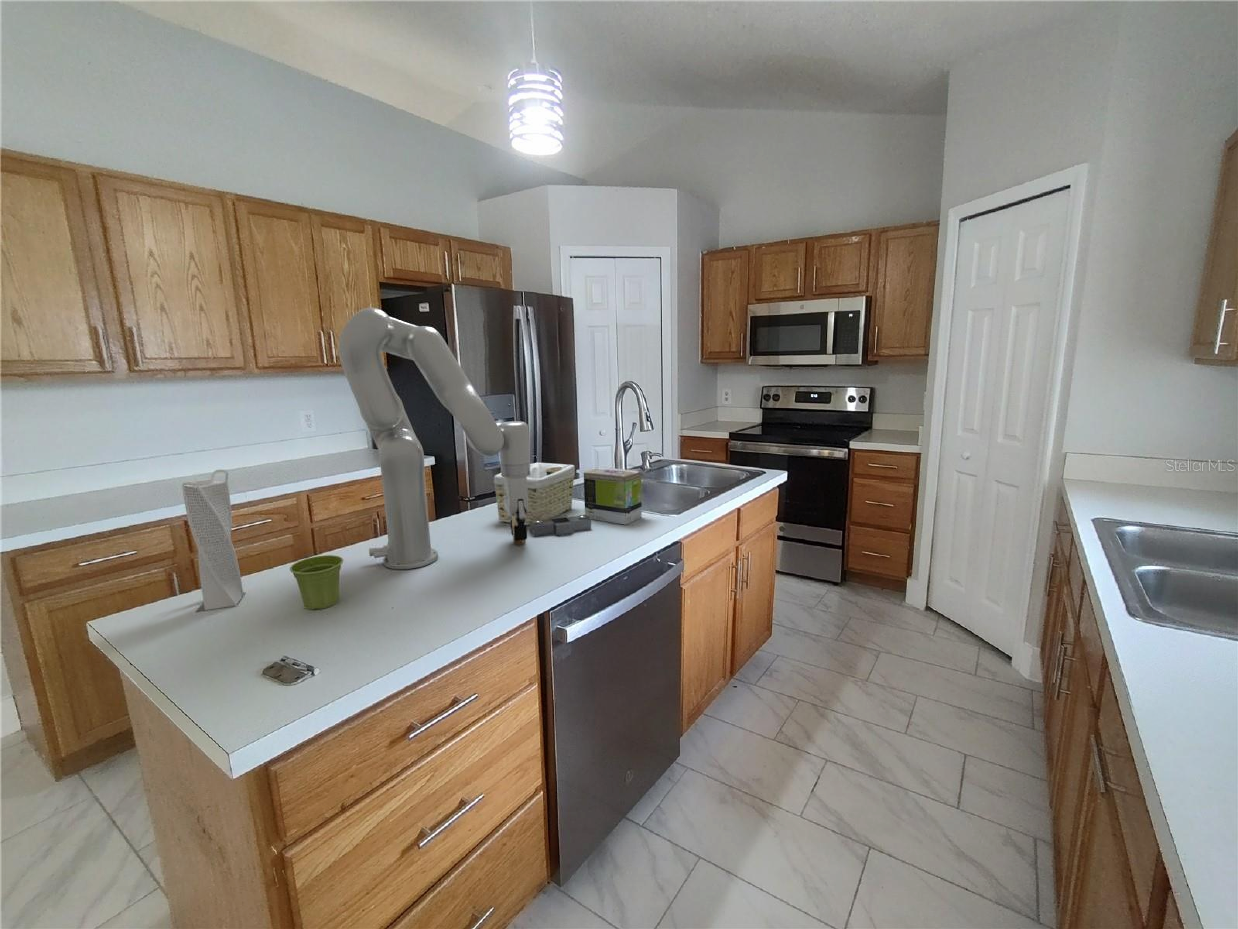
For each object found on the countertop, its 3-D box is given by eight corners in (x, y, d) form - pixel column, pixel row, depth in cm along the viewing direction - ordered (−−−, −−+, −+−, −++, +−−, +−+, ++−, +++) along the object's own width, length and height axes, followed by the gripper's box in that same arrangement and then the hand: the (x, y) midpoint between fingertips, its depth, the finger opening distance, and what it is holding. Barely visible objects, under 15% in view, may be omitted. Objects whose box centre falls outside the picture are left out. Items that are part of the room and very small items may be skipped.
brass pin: (514, 546, 144) (512, 517, 143) (512, 542, 147) (510, 514, 146) (526, 545, 146) (525, 516, 144) (524, 541, 148) (523, 512, 147)
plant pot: (357, 599, 114) (352, 560, 112) (312, 618, 106) (307, 576, 104) (330, 590, 119) (325, 552, 117) (285, 607, 111) (279, 567, 109)
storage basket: (536, 503, 187) (534, 460, 184) (578, 508, 180) (577, 463, 178) (493, 523, 165) (490, 475, 162) (540, 529, 159) (537, 479, 156)
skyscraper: (253, 593, 119) (234, 465, 113) (243, 608, 111) (222, 473, 106) (207, 599, 116) (184, 469, 110) (193, 616, 108) (169, 477, 103)
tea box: (642, 517, 169) (642, 470, 166) (625, 526, 161) (625, 476, 158) (602, 510, 177) (601, 465, 174) (583, 518, 169) (582, 471, 166)
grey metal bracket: (535, 538, 150) (534, 526, 150) (529, 529, 158) (528, 517, 158) (593, 531, 156) (592, 519, 155) (584, 522, 164) (584, 511, 163)
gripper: (496, 464, 149) (500, 529, 153) (506, 477, 133) (510, 549, 137) (524, 462, 152) (527, 526, 155) (536, 474, 136) (539, 545, 140)
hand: (519, 536), depth 146 cm, fingers open, 4 cm apart
